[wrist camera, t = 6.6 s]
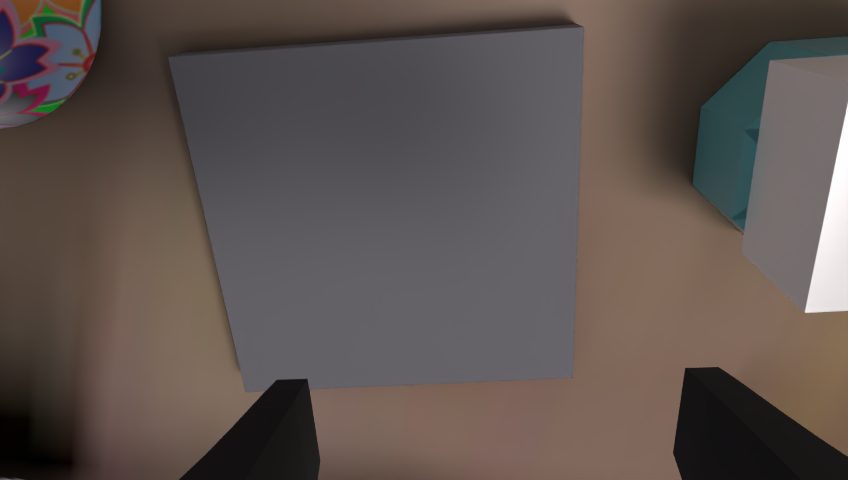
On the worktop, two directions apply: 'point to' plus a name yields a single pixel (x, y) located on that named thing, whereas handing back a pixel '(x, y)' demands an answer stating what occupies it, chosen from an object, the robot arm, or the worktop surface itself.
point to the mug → (44, 54)
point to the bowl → (743, 126)
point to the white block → (802, 183)
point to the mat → (392, 204)
